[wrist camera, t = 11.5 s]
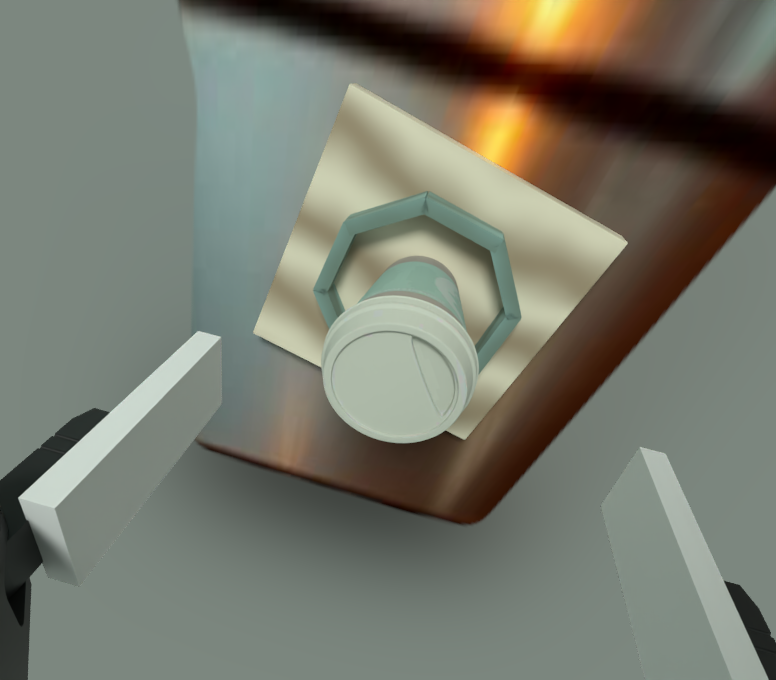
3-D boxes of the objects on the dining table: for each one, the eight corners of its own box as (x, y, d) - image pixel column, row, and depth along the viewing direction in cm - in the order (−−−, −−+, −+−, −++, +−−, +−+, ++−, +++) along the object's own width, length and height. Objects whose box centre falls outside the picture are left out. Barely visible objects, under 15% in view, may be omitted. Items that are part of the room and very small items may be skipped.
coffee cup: (457, 356, 36) (450, 469, 26) (351, 326, 36) (302, 426, 26) (494, 254, 32) (504, 341, 21) (373, 221, 32) (325, 291, 22)
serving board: (355, 83, 29) (342, 84, 26) (621, 235, 31) (635, 252, 28) (260, 323, 40) (243, 343, 37) (465, 427, 41) (464, 454, 38)
